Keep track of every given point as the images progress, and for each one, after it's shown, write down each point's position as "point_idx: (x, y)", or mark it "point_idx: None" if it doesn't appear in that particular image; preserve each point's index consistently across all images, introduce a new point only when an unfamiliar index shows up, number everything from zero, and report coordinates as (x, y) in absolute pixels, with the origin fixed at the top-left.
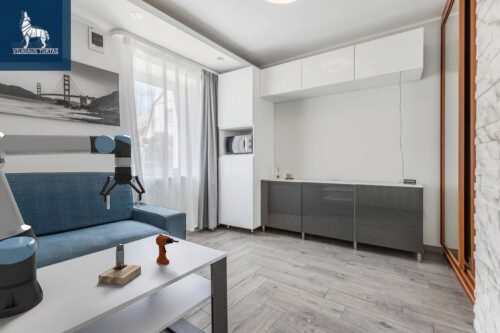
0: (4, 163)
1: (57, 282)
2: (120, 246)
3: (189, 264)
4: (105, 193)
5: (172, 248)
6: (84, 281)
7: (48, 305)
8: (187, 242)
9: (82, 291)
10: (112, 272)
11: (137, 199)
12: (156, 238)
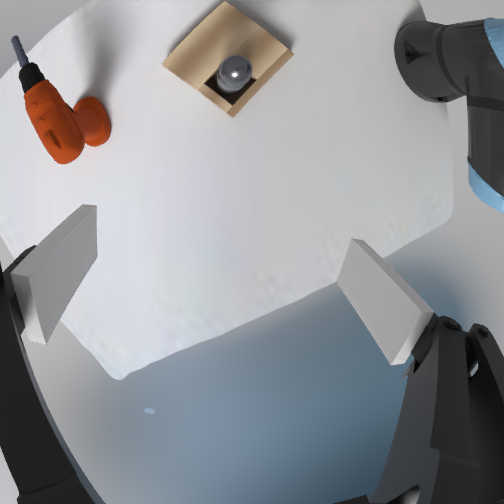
0: None
1: (381, 125)
2: (234, 55)
3: None
4: (459, 337)
5: None
6: (324, 87)
7: (377, 15)
8: None
9: (323, 30)
10: (254, 52)
11: (54, 243)
12: (74, 142)
